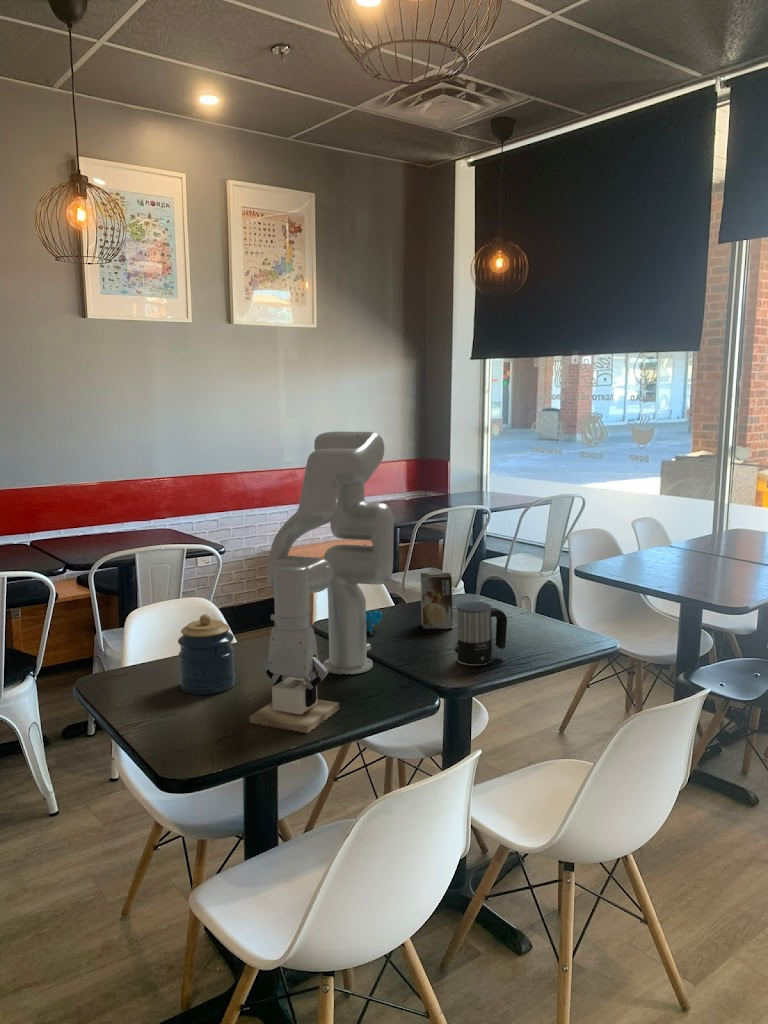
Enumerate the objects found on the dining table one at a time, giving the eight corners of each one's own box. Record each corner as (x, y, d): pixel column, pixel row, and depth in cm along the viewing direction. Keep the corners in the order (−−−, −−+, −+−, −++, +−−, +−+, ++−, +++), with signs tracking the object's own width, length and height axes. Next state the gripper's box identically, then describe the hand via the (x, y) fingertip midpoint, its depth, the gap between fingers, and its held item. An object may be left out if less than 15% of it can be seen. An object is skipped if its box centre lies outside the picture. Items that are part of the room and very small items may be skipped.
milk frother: (474, 669, 199) (474, 612, 197) (431, 655, 211) (431, 601, 209) (512, 657, 208) (512, 602, 206) (468, 644, 220) (468, 592, 218)
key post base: (284, 700, 180) (283, 674, 179) (339, 709, 175) (338, 683, 174) (250, 723, 168) (248, 695, 167) (307, 733, 162) (306, 705, 161)
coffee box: (450, 623, 241) (450, 572, 239) (452, 629, 235) (452, 576, 233) (420, 624, 241) (420, 572, 239) (422, 630, 235) (421, 577, 233)
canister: (216, 698, 182) (213, 624, 180) (169, 692, 186) (165, 619, 184) (245, 680, 194) (242, 610, 192) (200, 674, 198) (196, 605, 196)
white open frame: (289, 698, 175) (288, 675, 175) (317, 702, 173) (316, 679, 172) (272, 709, 169) (271, 685, 168) (301, 714, 166) (300, 690, 165)
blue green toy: (378, 621, 238) (383, 604, 231) (385, 638, 235) (390, 622, 227) (343, 630, 235) (347, 614, 227) (350, 648, 232) (354, 631, 224)
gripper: (248, 622, 168) (251, 702, 171) (320, 631, 161) (322, 714, 164) (267, 613, 175) (270, 691, 178) (337, 621, 168) (339, 702, 171)
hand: (295, 701), depth 171 cm, fingers closed on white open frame, 7 cm apart
